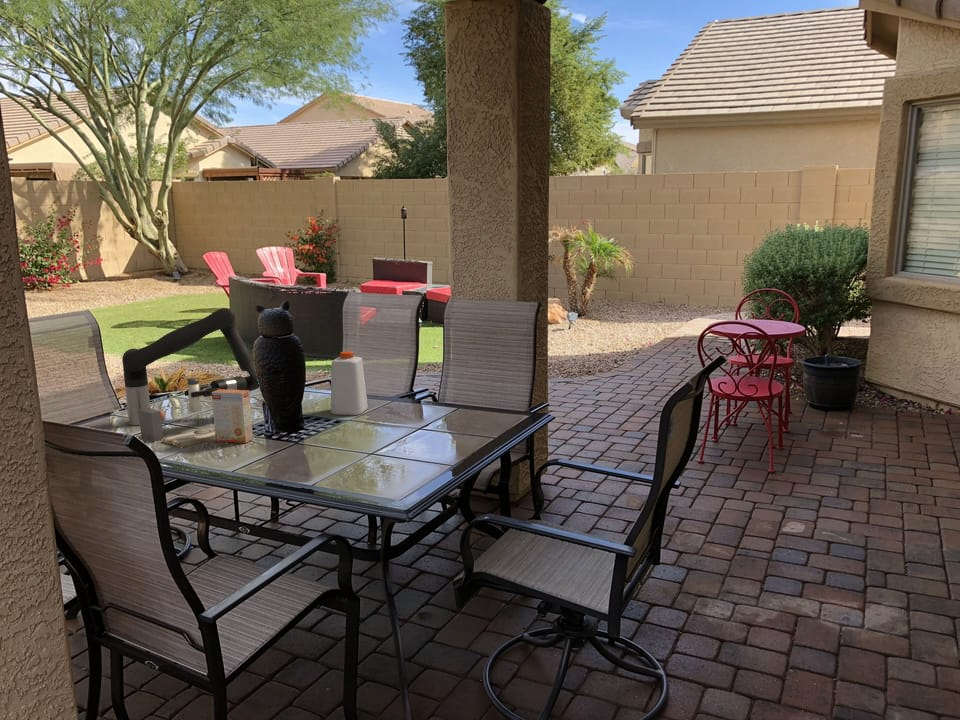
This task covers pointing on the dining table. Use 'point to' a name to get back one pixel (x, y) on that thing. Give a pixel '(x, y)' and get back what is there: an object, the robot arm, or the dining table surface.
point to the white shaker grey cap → (194, 402)
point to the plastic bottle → (348, 385)
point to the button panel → (150, 424)
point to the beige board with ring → (191, 437)
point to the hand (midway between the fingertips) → (188, 394)
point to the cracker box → (232, 416)
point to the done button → (162, 415)
